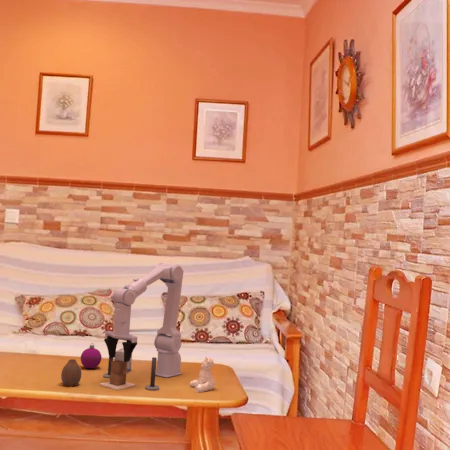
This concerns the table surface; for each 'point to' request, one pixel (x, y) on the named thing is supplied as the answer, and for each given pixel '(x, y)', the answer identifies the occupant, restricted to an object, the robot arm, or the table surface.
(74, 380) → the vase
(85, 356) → the christmas ornament
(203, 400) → the table surface
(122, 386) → the white pad
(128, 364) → the medicine box
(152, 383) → the post
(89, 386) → the table surface
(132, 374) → the table surface
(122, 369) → the walnut block
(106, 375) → the post
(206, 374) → the seated beast figurine
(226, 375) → the table surface
